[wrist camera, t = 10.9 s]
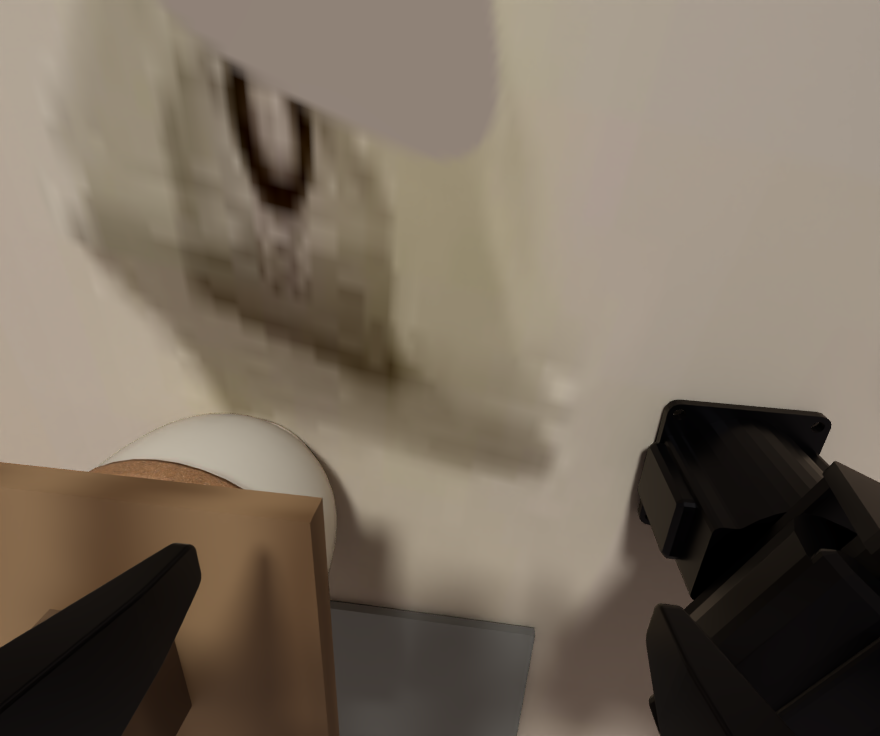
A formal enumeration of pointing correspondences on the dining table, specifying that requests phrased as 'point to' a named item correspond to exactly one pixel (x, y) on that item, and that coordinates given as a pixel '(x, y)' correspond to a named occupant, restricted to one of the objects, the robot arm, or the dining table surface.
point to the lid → (216, 601)
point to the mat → (427, 673)
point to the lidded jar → (229, 460)
